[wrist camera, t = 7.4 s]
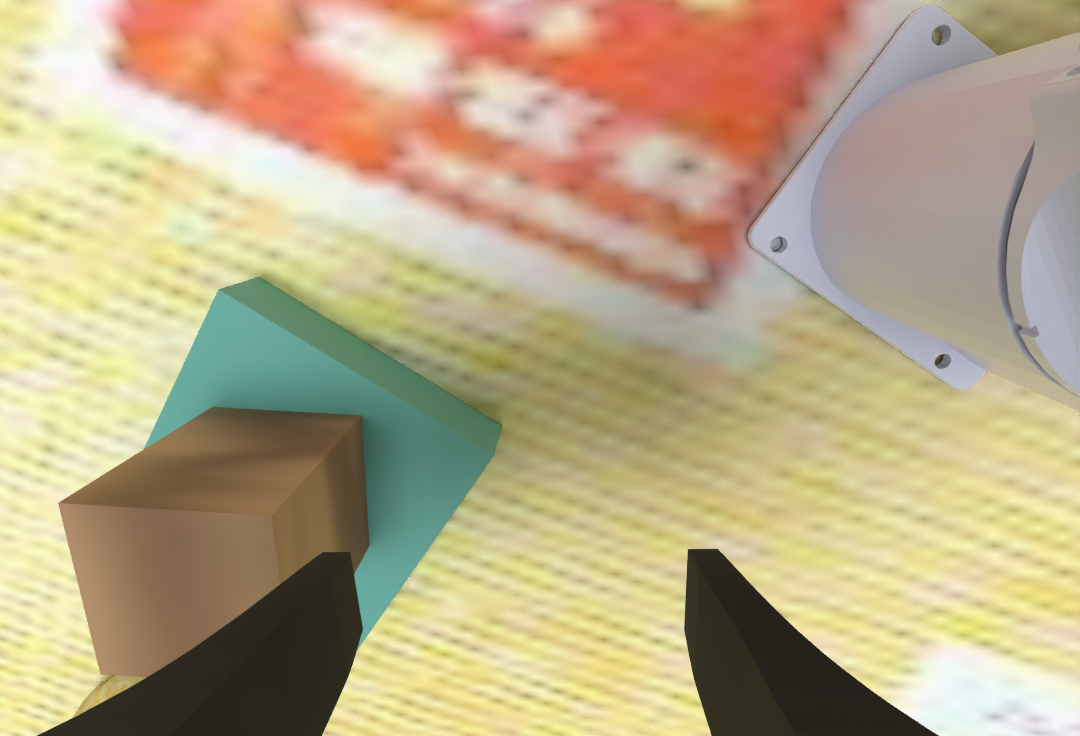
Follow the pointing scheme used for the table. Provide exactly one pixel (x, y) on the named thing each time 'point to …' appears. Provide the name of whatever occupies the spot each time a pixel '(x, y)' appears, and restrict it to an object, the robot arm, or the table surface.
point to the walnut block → (211, 527)
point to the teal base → (342, 388)
